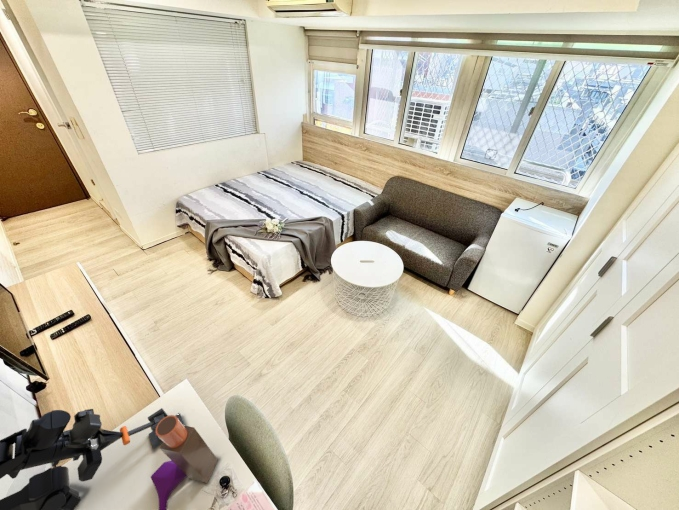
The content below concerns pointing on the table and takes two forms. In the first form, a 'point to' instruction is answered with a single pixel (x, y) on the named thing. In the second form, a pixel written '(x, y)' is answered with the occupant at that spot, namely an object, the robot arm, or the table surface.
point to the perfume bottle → (166, 481)
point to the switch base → (153, 437)
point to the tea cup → (171, 431)
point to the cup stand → (193, 456)
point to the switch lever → (138, 429)
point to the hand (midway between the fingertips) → (122, 434)
